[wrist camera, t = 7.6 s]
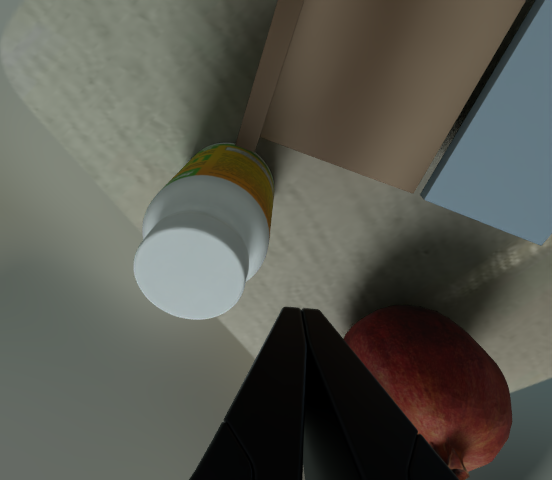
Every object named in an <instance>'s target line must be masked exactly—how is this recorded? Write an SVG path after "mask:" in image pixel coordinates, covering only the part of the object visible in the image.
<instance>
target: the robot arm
mask: <svg viewBox="0 0 552 480" xmlns="http://www.w3.org/2000/svg"><path fill="white" fill-rule="evenodd" d="M303 466H304V474H305V480H459V479H458V477H457V476H456V475H455V474H454V473H453V471H452V470H451V469H450V468H449V467H448V466H447V464H446V463H445V462H444V461H443V460H442V459H441V457H440V456H439V455H438V454H437V453H436V452H435V450H434V449H433V448H432V447H431V445H430V444H429V443H428V442H427V441H426V439H425V438H424V437H423V436H422V435H421V434H418V430H417V429H416V427H415V426H414V425H413V424H412V422H411V421H410V420H409V419H408V418H407V416H406V415H405V414H404V413H403V411H402V410H401V409H400V408H399V407H398V405H397V404H396V403H395V402H394V400H393V399H392V398H391V397H390V396H389V394H388V393H387V392H386V391H385V389H384V388H383V387H382V386H381V384H380V383H379V382H378V381H377V380H376V378H375V377H374V376H373V375H372V373H371V372H370V371H369V370H368V369H367V367H366V366H365V365H364V364H363V362H362V361H361V360H360V359H359V358H358V356H357V355H356V354H355V353H354V351H353V350H352V349H351V348H350V347H349V345H348V344H347V343H346V342H345V340H344V339H343V338H342V337H341V336H340V334H339V333H338V332H337V331H336V329H335V328H334V327H333V326H332V325H331V323H330V322H329V321H328V320H327V318H326V317H325V316H324V315H323V314H322V312H321V311H320V310H318V309H309V308H303V309H302V310H301V309H300V308H296V307H283V308H282V310H281V312H280V314H279V316H278V317H277V319H276V321H275V323H274V325H273V327H272V329H271V331H270V333H269V335H268V336H267V338H266V340H265V342H264V344H263V346H262V348H261V350H260V352H259V353H258V355H257V357H256V359H255V361H254V363H253V365H252V367H251V369H250V371H249V372H248V374H247V376H246V378H245V380H244V382H243V384H242V386H241V388H240V390H239V391H238V393H237V395H236V397H235V399H234V401H233V403H232V405H231V407H230V409H229V411H228V412H227V414H226V416H225V418H224V422H222V423H221V425H220V427H219V429H218V431H217V433H216V434H215V436H214V438H213V440H212V442H211V444H210V445H209V447H208V449H207V451H206V452H205V454H204V456H203V458H202V459H201V461H200V463H199V465H198V466H197V468H196V470H195V472H194V473H193V474H192V476H191V478H190V479H189V480H302V472H303Z"/></svg>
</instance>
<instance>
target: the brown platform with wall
mask: <svg viewBox="0 0 552 480" xmlns="http://www.w3.org/2000/svg"><path fill="white" fill-rule="evenodd" d="M525 1H526V0H278V2H277V5H276V9H275V12H274V15H273V19H272V22H271V26H270V29H269V32H268V36H267V39H266V42H265V46H264V49H263V53H262V56H261V59H260V63H259V66H258V70H257V73H256V76H255V80H254V83H253V87H252V90H251V93H250V97H249V100H248V104H247V107H246V110H245V114H244V117H243V120H242V124H241V127H240V131H239V134H238V137H237V141H236V144H235V146H238V147H241V148H244V149H246V150H249V151H252V152H255V149H256V147H257V144H258V141H259V138H260V137H261V138H264V139H266V140H269V141H272V142H274V143H277V144H280V145H283V146H285V147H288V148H291V149H293V150H296V151H299V152H302V153H304V154H307V155H310V156H312V157H315V158H318V159H320V160H323V161H326V162H329V163H331V164H334V165H337V166H339V167H342V168H345V169H348V170H350V171H353V172H356V173H358V174H361V175H364V176H367V177H369V178H372V179H375V180H377V181H380V182H383V183H385V184H388V185H391V186H394V187H396V188H399V189H402V190H404V191H407V192H410V193H414V191H415V190H416V188H417V186H418V185H419V183H420V181H421V179H422V178H423V176H424V174H425V173H426V171H427V169H428V167H429V166H430V164H431V162H432V161H433V159H434V157H435V155H436V154H437V152H438V150H439V149H440V147H441V145H442V143H443V142H444V140H445V138H446V137H447V135H448V133H449V131H450V130H451V128H452V126H453V125H454V123H455V121H456V119H457V118H458V116H459V114H460V113H461V111H462V109H463V107H464V106H465V104H466V102H467V101H468V99H469V97H470V95H471V94H472V92H473V90H474V89H475V87H476V85H477V84H478V82H479V80H480V78H481V77H482V75H483V73H484V72H485V70H486V68H487V66H488V65H489V63H490V61H491V60H492V58H493V56H494V54H495V53H496V51H497V49H498V48H499V46H500V44H501V42H502V41H503V39H504V37H505V36H506V34H507V32H508V30H509V29H510V27H511V25H512V24H513V22H514V20H515V18H516V17H517V15H518V13H519V12H520V10H521V8H522V6H523V5H524V3H525Z"/></svg>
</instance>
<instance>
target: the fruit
mask: <svg viewBox="0 0 552 480" xmlns="http://www.w3.org/2000/svg"><path fill="white" fill-rule="evenodd" d="M344 340H345V342H346V343H347V344H348V345H349V347H350V348H351V349H352V350H353V351H354V353H355V354H356V355H357V356H358V358H359V359H360V360H361V361H362V362H363V364H364V365H365V366H366V367H367V369H368V370H369V371H370V372H371V373H372V375H373V376H374V377H375V378H376V380H377V381H378V382H379V383H380V384H381V386H382V387H383V388H384V389H385V391H386V392H387V393H388V394H389V396H390V397H391V398H392V399H393V400H394V402H395V403H396V404H397V405H398V407H399V408H400V409H401V410H402V411H403V413H404V414H405V415H406V416H407V418H408V419H409V420H410V421H411V422H412V424H413V425H414V426H415V427H416V429H417V430H418V434H421V435H422V436H423V437H424V438H425V439H426V441H427V442H428V443H429V444H430V445H431V447H432V448H433V449H434V450H435V452H436V453H437V454H438V455H439V456H440V457H441V459H442V460H443V461H444V462H445V463H446V464H447V466H448V467H449V468H450V469H451V470H452V471H453V473H454V474H455V475H456V476H457V477H458V479H459V480H465V479H466V478H468V477H469V474H468V472H469V471H471V470H473V469H476V468H479V467H481V466H483V465H486V464H488V463H489V462H491V461H492V460H493V459H494V458H495V456H496V455H497V454H498V452H499V451H500V449H501V448H502V447H503V445H504V444H505V442H506V441H507V439H508V437H509V433H510V428H511V425H512V410H511V400H510V393H509V388H508V385H507V382H506V380H505V377H504V375H503V373H502V372H501V370H500V368H499V367H498V365H497V364H496V363H495V361H494V360H493V359H492V358H491V357H490V356H489V355H488V354H487V353H486V351H485V350H484V349H483V348H482V347H481V346H480V345H479V344H478V343H477V342H476V341H475V340H474V339H473V338H472V337H471V336H470V335H469V334H468V333H467V332H466V331H465V330H463V329H462V328H461V327H460V326H458V325H457V324H456V323H455V322H453V321H452V320H451V319H449V318H448V317H446V316H444V315H442V314H440V313H438V312H437V311H434V310H430V309H427V308H423V307H416V306H410V305H393V306H389V307H385V308H382V309H379V310H376V311H374V312H373V313H371V314H369V315H367V316H366V317H364V318H363V319H361V320H360V321H358V322H357V323H356V324H354V325H353V326H352V327H351V328H350V330H349V331H348V332H347V333H346V335H345V337H344Z"/></svg>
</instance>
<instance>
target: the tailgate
mask: <svg viewBox="0 0 552 480" xmlns="http://www.w3.org/2000/svg"><path fill="white" fill-rule="evenodd" d="M420 195H421V196H422V198H423V199H424V200H426V201H429V202H431V203H434V204H436V205H439V206H441V207H444V208H446V209H449V210H452V211H454V212H457V213H459V214H462V215H464V216H467V217H469V218H472V219H474V220H477V221H480V222H482V223H485V224H487V225H490V226H492V227H495V228H497V229H500V230H503V231H505V232H508V233H510V234H513V235H515V236H518V237H520V238H523V239H525V240H528V241H531V242H533V243H536V244H538V245H542V244H543V243H544V242H545V241H546V240H547V238H548V237H549V236H550V235H551V234H552V0H535V2H534V4H533V5H532V7H531V9H530V11H529V12H528V14H527V16H526V17H525V19H524V21H523V22H522V24H521V26H520V27H519V29H518V31H517V32H516V34H515V36H514V37H513V39H512V41H511V42H510V44H509V46H508V48H507V49H506V51H505V53H504V54H503V56H502V58H501V59H500V61H499V63H498V64H497V66H496V68H495V69H494V71H493V73H492V74H491V76H490V78H489V79H488V81H487V83H486V85H485V86H484V88H483V90H482V91H481V93H480V95H479V96H478V98H477V100H476V101H475V103H474V105H473V106H472V108H471V110H470V111H469V113H468V115H467V116H466V118H465V120H464V122H463V123H462V125H461V127H460V128H459V130H458V132H457V133H456V135H455V137H454V138H453V140H452V142H451V143H450V145H449V147H448V148H447V150H446V152H445V153H444V155H443V157H442V159H441V160H440V162H439V164H438V165H437V167H436V169H435V170H434V172H433V174H432V175H431V177H430V179H429V180H428V182H427V184H426V185H425V187H424V189H423V190H422V192H421V194H420Z"/></svg>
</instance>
